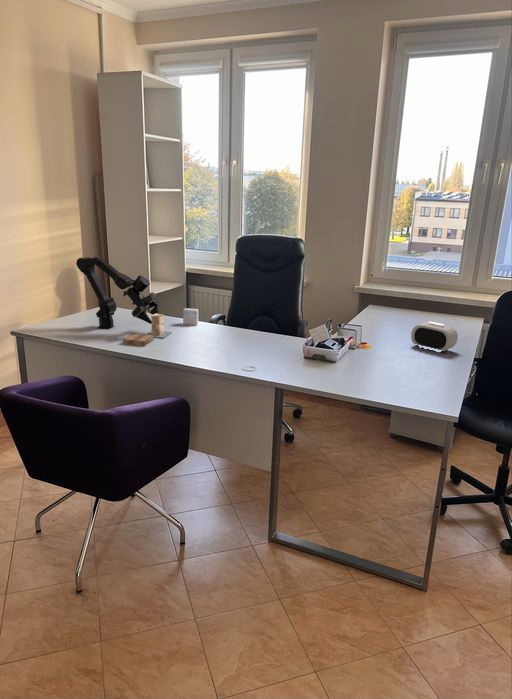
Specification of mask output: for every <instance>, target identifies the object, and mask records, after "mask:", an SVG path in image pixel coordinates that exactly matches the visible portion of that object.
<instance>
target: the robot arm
mask: <svg viewBox="0 0 512 699" xmlns="http://www.w3.org/2000/svg"><path fill="white" fill-rule="evenodd" d="M75 264H76V266H77V268H78V269H79V271H80V273H82V274H84V276H86V278H87V281H88V282H89V284H90V286H91V288H92V289H93V292H94V294H95V296H96V298H97V299H98V308H99V310H98V311H97V312H96V313H95V314H96V318H98V327H97V329H103V330H104V329H106V330H110V329H112V328H113V327H115V325H114V318H113V316H114V314H115V312H116V311H117V308H118V306H117V303H116V302H115V300H114V297H110V296H108V295H107V293H106V291H105V290H104V287H103V285H102V283H101V281H100V279H99V277H98V275H97V273H96V271H95V269H96V268H95V266H96V267H98V268H99V269H100V270H101V271H102V272H104V273H105V274H106V275H107V276H108V277H109V278H110V279H112V280H113V282H114V285H116V287H118V288H119V289H120V290H123V297H126V296H128V298H129V299H130V300H131V301H132V306H136V307H135V308H134V309H133V310H132V311H131V315H132V316H133V318H136V319H139V320H141V321H144V322H146V323H147V324H151V325H152V319H151V318H150V317H149V315H148V314H147V311H148V312H149V314H151V316H152V315H154V314H160V312H159V305H160V303H159V301H158V300H157V294H156V293H155V292H153V291H152V292H150V293H149V295H147V296H146V295H144V294H143V295H142V293H143V292H145V290H147V288H148V287H149V286H150V285H151V283H150V280H149V279H148V278H146V277H144V276H143V275H138V276H137V277H136V279H132V278H131V277H130V276H128V275H126V274H124V273H121V272H119V271H118V270H117V269H116V268H115V267H114V266H112V265H111V264H110V263H108V261H106V260H105V259H104V257H102V256H95V257H90V256H82V257H79V258H77V260H76V262H75Z"/></svg>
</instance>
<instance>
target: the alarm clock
mask: <svg viewBox="0 0 512 699" xmlns="http://www.w3.org/2000/svg"><path fill="white" fill-rule="evenodd" d="M410 340H411V342H412V343H413V345H415V344H417V345H421V346H426V347H430V348H434V349H438V350H442V351H443V352H446V351H448V350H450V349H452V348H454V347H455V346H456V344H457V342H458V331H457V330H456V329H455V328H454V327H452V326H449V325H446V324H444V323H441V322H440V323H439V322H434V321H425V322H422V323H420V324H417V325H415V326H414V327H413V328H412V330H411V333H410Z"/></svg>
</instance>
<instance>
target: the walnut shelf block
mask: <svg viewBox="0 0 512 699" xmlns="http://www.w3.org/2000/svg"><path fill="white" fill-rule="evenodd" d="M146 334H147V333H135V332H134V333H133V332H132V333H131V334H129V335H127V336H125V337H124V338H123V339H122V344H123V345H127V346H128V345H130V346H136V347H137V346H140V347H145V346H146V347H147V345H149V344H150V343H152V342H153V341H154V338H153V335H146Z"/></svg>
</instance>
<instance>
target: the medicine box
mask: <svg viewBox="0 0 512 699" xmlns="http://www.w3.org/2000/svg"><path fill="white" fill-rule="evenodd" d="M182 325H183V326H196V327H197V326H198V325H199V309H198V308H188V307H187V308H186V307H185V308H184V309H183V310H182Z"/></svg>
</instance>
